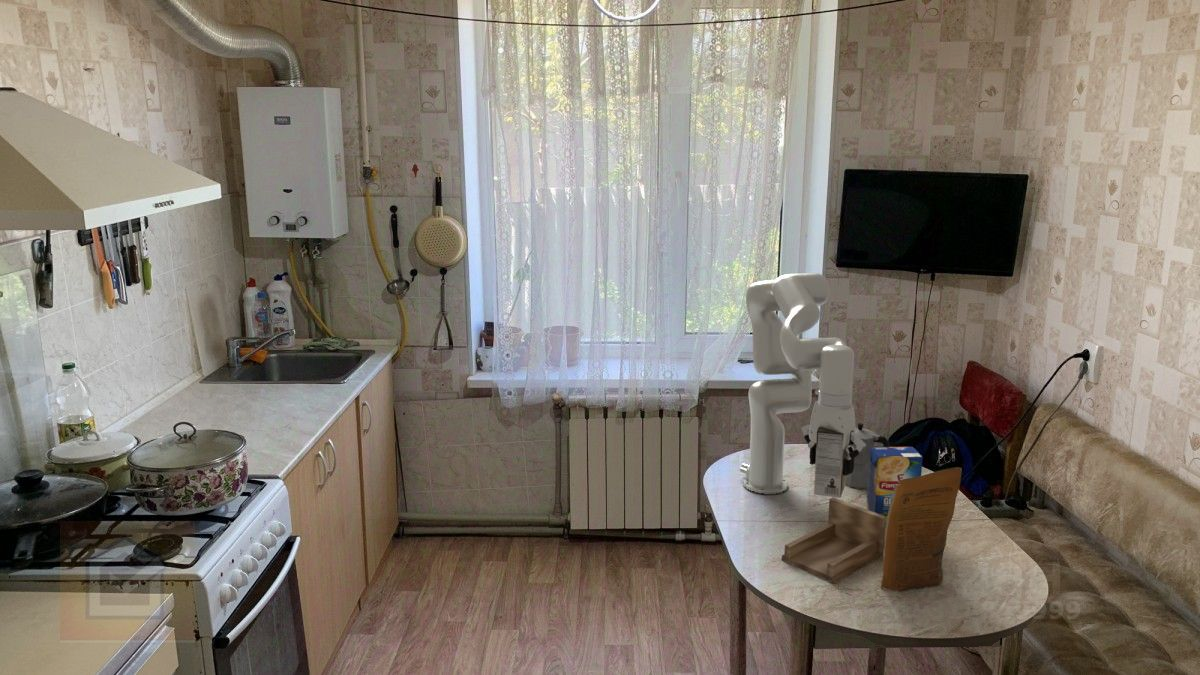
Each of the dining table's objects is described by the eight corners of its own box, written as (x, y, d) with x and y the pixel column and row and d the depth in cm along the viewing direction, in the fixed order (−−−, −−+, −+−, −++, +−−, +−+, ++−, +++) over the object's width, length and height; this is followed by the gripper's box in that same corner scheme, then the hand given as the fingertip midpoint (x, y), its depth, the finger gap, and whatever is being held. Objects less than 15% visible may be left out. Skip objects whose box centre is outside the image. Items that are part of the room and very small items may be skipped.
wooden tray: (781, 559, 215) (783, 520, 213) (830, 534, 228) (832, 497, 226) (834, 583, 204) (837, 542, 202) (883, 555, 217) (886, 516, 215)
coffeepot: (828, 481, 261) (831, 423, 256) (841, 471, 268) (845, 414, 264) (879, 495, 251) (884, 434, 247) (892, 484, 259) (897, 425, 254)
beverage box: (916, 538, 226) (923, 456, 220) (872, 539, 225) (878, 457, 220) (906, 526, 232) (913, 446, 227) (864, 527, 232) (869, 447, 227)
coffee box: (819, 480, 218) (822, 417, 215) (846, 484, 216) (849, 420, 212) (813, 494, 210) (816, 430, 206) (841, 498, 208) (845, 433, 204)
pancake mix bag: (960, 586, 203) (972, 470, 196) (886, 598, 198) (896, 480, 191) (941, 572, 209) (952, 459, 202) (869, 583, 204) (878, 469, 197)
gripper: (794, 393, 212) (791, 462, 216) (858, 410, 199) (853, 483, 203) (813, 387, 217) (810, 454, 221) (877, 403, 204) (872, 474, 208)
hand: (831, 468), depth 212 cm, fingers closed on coffee box, 8 cm apart
